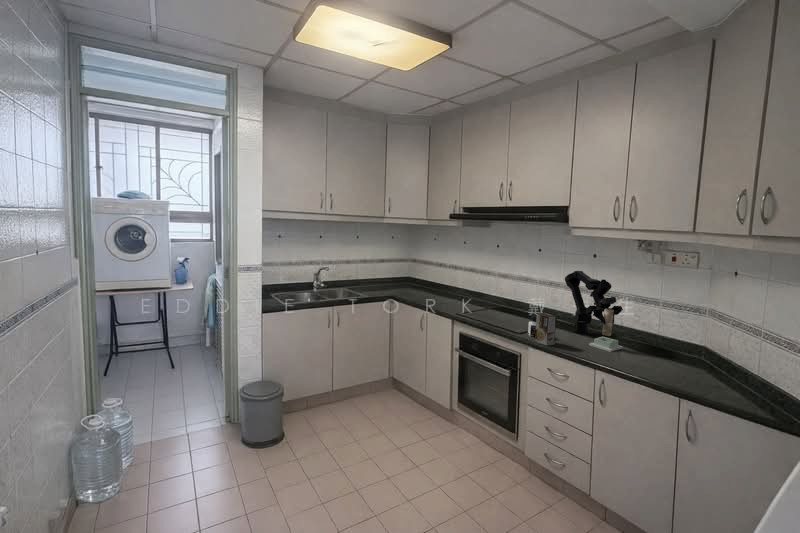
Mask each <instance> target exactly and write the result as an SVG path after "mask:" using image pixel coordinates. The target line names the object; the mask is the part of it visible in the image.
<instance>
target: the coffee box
mask: <svg viewBox="0 0 800 533" xmlns="http://www.w3.org/2000/svg"><path fill="white" fill-rule="evenodd" d="M536 315H537V318H536V335H535V337H534V338H535V339H534V342H536V343H538V344H540V345H541V344H542V345H544V346H552V345H553V346H554V345H555V344H556V331H557V318H558V316H557V315H554V314H550V313H547V312H540V313H536Z"/></svg>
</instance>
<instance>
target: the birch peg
mask: <svg viewBox="0 0 800 533" xmlns="http://www.w3.org/2000/svg"><path fill="white" fill-rule="evenodd" d="M613 312H614V310H612V309H605V310H604V312H603V317H604V319H605V322H606V324H604V323H602V330H601V331H602V332H601V335H603V336H604V337H605V336H606V337H607V336H608V337H610V336H612V330H613V329H612V328H613V324H612V321H613Z"/></svg>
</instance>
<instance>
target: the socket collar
mask: <svg viewBox="0 0 800 533" xmlns="http://www.w3.org/2000/svg"><path fill="white" fill-rule="evenodd" d="M588 346H589V347H593V348H596V349H600V350H603V351H606V352H609V353H610V352H615V351H617V350H621V349H623V348H624V347H623V346H622V345H619V340H618V339H614V338H611V337H607V336H606V337H605V336H599V337H596V338H594V341H593V342H590V343H589V344H588Z"/></svg>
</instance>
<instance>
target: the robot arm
mask: <svg viewBox="0 0 800 533" xmlns="http://www.w3.org/2000/svg"><path fill="white" fill-rule="evenodd" d="M564 282H565V284H566V286H567V287H568V288H570V291H571V293H572V297H573V301H574V304H575V307H576V310H575V314H574V316H573V318H572V322H573V323H574V330H573V331H572V332H573V333H576V334H579V335H585V334H589V332H588V328H589V326H588V325H589V324H591V321H592V319H593V317H594V318H597V319H598V320H599V321H600V322H601V323H602V324H603V323H604V324H606V322H605V319H604V310H605V309H612V310H614V312H613V321H612V325H614V324H615V316H617V315H619V314H620V313H621V312H622V311H623V310H624V309H623V307H622V306H621V305H614V304H615V303H617V298H616V297H615V296H611V297H605V295H606V294H608V292H609V291H610V290H611V289H612V284H611V283H610V282H609V281H607V280H606V279H604V278H602V279H601V280H599V279H597V278H593V277H590V276H589V275H588V274H586V273H585V272H584V271H582V270H574V271H573V272H571V273H568V274H567V275H566V276H565V277H564ZM581 282H582V283H583V284H584V285H585V288H586V289H587V291H588V290H589V291H591V292H590V294H589V297H591V298H592V299H593V301H594V302H593V305H589V306H587V307H586V305H585V303H584V298H583V296H582V293H581V289H580V284H581ZM612 305H613V306H612ZM611 306H612V307H611Z"/></svg>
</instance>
